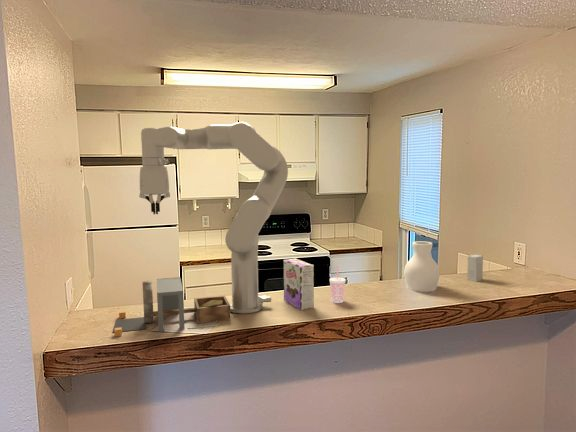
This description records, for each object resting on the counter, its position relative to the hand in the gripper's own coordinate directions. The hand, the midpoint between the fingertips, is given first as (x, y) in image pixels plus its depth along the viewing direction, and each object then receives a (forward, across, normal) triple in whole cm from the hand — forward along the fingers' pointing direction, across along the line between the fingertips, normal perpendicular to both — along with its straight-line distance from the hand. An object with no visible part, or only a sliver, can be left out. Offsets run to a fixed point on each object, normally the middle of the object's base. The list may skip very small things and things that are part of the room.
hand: (155, 213), depth 159 cm
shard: (+36, -16, +15) cm, 42 cm away
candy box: (+35, -50, +13) cm, 63 cm away
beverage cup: (+35, -65, +15) cm, 76 cm away
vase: (+35, -105, +10) cm, 111 cm away
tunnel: (+35, -4, +16) cm, 39 cm away
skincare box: (+36, -134, +7) cm, 139 cm away
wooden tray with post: (+35, -17, +16) cm, 42 cm away
